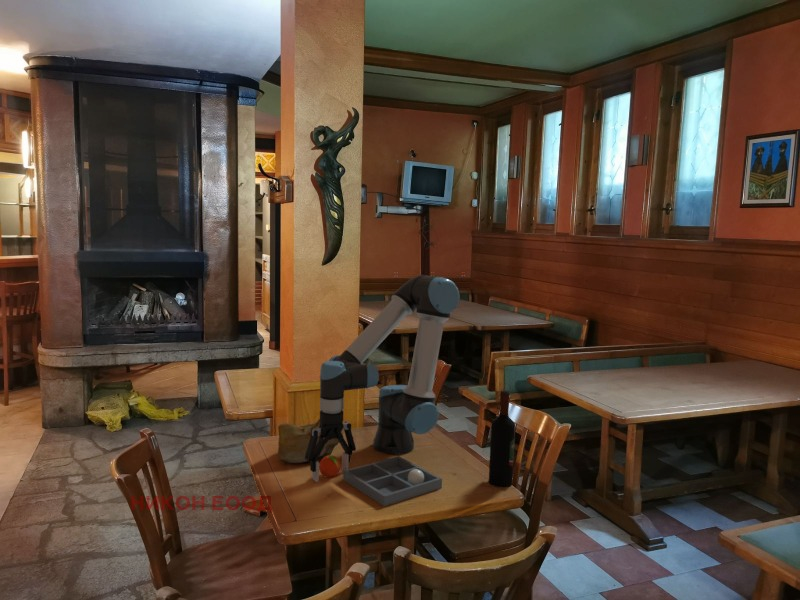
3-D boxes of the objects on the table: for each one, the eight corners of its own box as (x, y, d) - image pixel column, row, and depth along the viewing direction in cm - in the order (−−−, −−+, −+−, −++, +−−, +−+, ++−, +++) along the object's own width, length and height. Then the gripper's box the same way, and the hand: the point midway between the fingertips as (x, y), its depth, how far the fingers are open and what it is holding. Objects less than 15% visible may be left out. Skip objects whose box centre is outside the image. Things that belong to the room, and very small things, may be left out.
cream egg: (416, 480, 190) (417, 465, 189) (427, 486, 185) (428, 470, 185) (403, 484, 186) (404, 468, 186) (414, 490, 182) (414, 474, 182)
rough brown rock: (331, 445, 224) (329, 405, 223) (347, 457, 209) (345, 414, 208) (269, 455, 213) (267, 414, 213) (281, 469, 199) (279, 424, 198)
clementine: (346, 478, 192) (347, 457, 191) (328, 484, 188) (329, 462, 187) (332, 470, 198) (332, 450, 197) (314, 475, 194) (315, 454, 193)
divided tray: (398, 467, 202) (398, 456, 202) (441, 490, 185) (442, 478, 185) (343, 482, 189) (343, 470, 188) (384, 509, 172) (384, 496, 171)
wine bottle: (487, 477, 196) (491, 388, 193) (510, 478, 196) (515, 389, 193) (490, 487, 189) (494, 394, 185) (514, 487, 189) (519, 395, 185)
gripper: (355, 401, 200) (353, 465, 203) (293, 412, 186) (293, 480, 189) (367, 407, 194) (366, 472, 197) (305, 419, 180) (304, 489, 183)
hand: (330, 476), depth 193 cm, fingers open, 10 cm apart
